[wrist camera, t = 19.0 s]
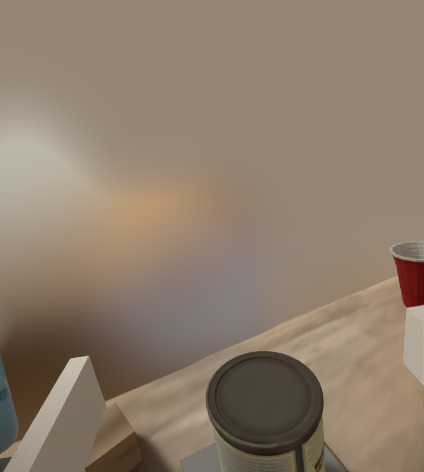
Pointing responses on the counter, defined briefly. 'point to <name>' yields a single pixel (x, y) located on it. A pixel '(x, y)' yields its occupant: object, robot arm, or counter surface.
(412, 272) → the plastic cup
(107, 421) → the walnut block
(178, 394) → the counter surface
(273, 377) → the coffee can
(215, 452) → the mat
